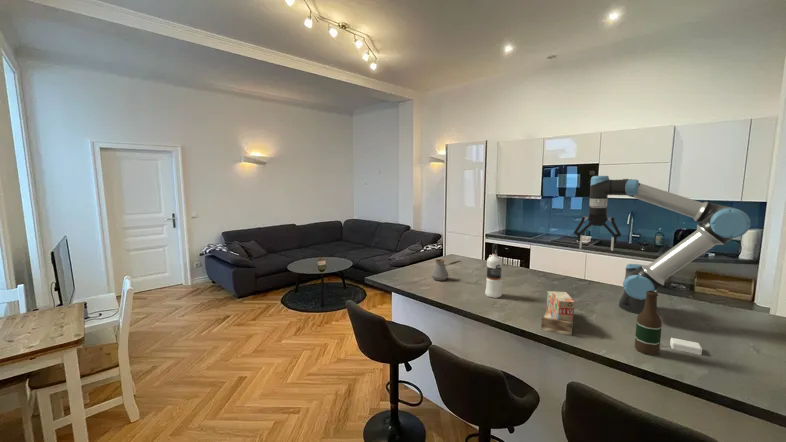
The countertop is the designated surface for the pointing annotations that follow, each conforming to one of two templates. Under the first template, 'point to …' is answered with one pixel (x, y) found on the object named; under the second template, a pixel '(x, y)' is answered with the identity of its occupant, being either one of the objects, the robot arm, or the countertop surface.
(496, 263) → the vodka
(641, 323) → the beer bottle
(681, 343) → the soap
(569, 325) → the cradle
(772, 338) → the countertop surface
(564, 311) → the stack of blocks
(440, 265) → the coffee pot
